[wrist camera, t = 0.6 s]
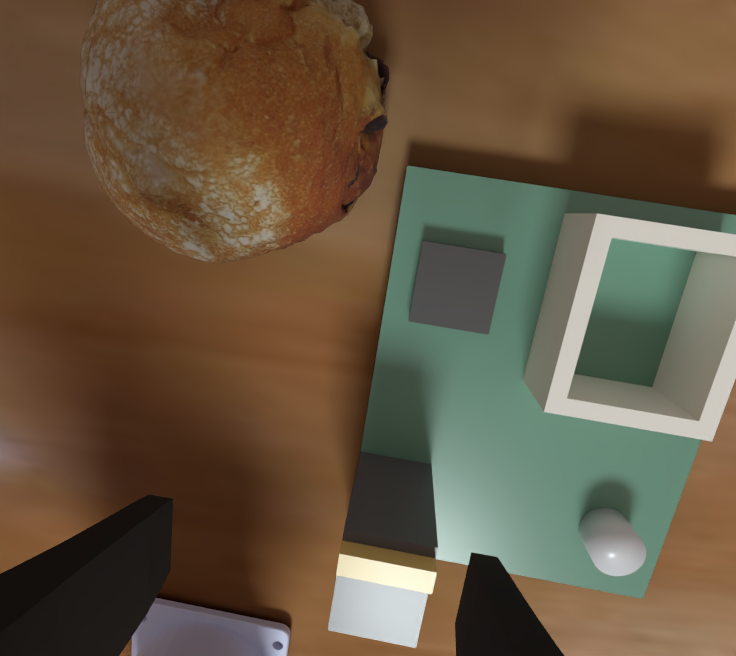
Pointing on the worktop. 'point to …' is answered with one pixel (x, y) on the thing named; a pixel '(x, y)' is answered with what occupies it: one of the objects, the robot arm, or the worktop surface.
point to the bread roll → (232, 118)
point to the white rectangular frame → (684, 346)
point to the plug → (386, 551)
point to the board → (506, 386)
